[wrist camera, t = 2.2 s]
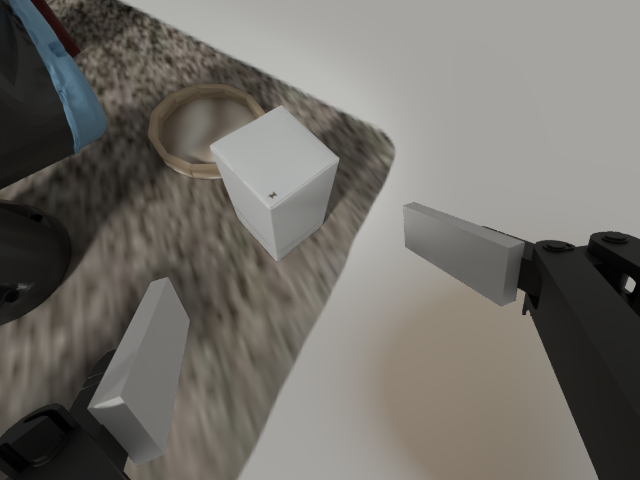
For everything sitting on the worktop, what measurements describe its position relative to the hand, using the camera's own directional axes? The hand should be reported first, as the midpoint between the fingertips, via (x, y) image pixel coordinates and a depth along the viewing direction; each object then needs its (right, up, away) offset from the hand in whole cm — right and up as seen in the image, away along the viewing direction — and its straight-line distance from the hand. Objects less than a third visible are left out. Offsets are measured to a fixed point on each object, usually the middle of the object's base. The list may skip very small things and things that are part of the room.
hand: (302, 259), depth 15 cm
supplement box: (-5, +4, +24) cm, 25 cm away
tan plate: (-16, +18, +28) cm, 37 cm away
